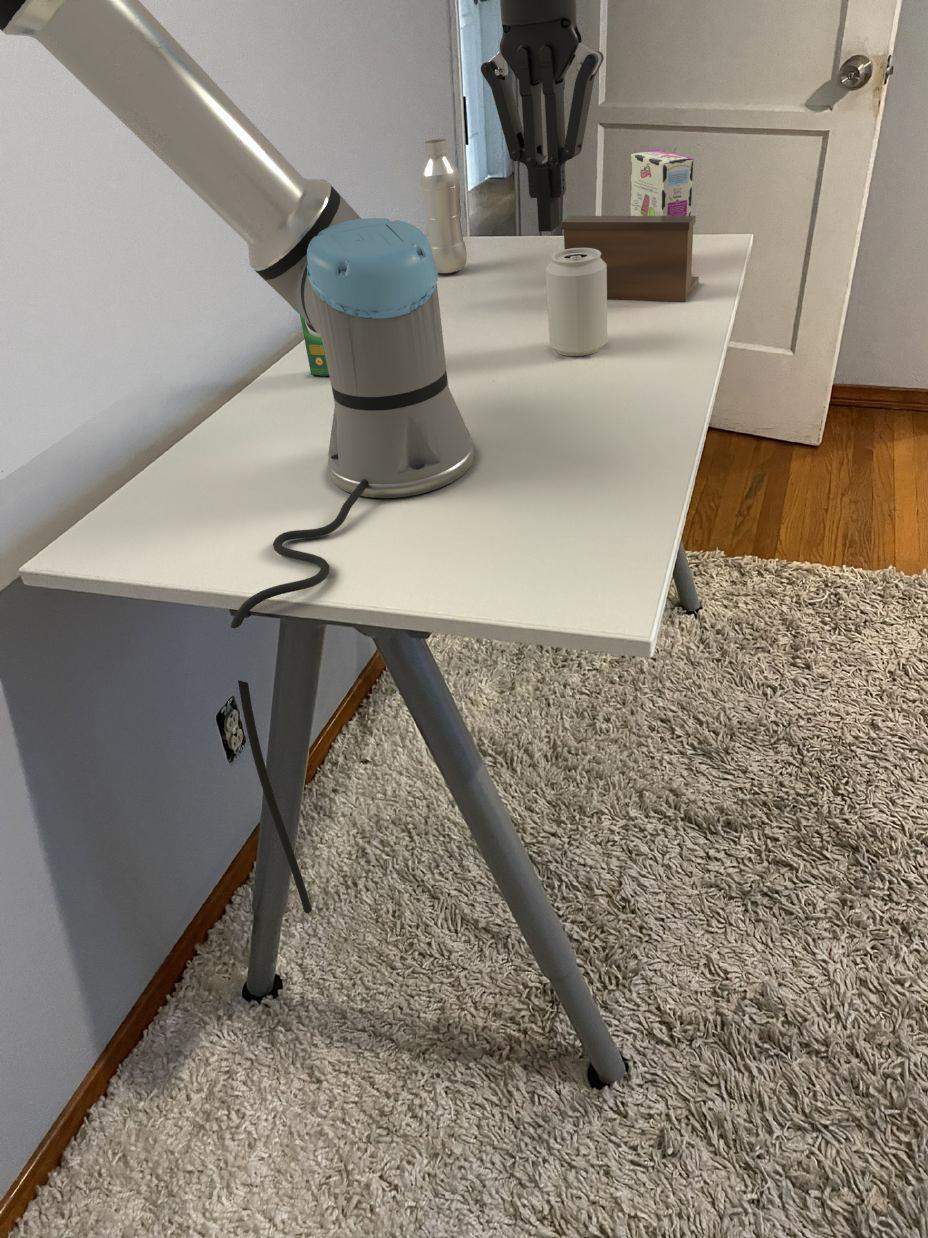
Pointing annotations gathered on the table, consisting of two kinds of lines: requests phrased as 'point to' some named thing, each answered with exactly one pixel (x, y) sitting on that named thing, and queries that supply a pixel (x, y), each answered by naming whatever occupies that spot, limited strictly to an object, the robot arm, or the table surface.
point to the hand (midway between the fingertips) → (549, 227)
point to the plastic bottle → (443, 207)
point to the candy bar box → (661, 184)
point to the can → (577, 301)
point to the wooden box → (639, 253)
